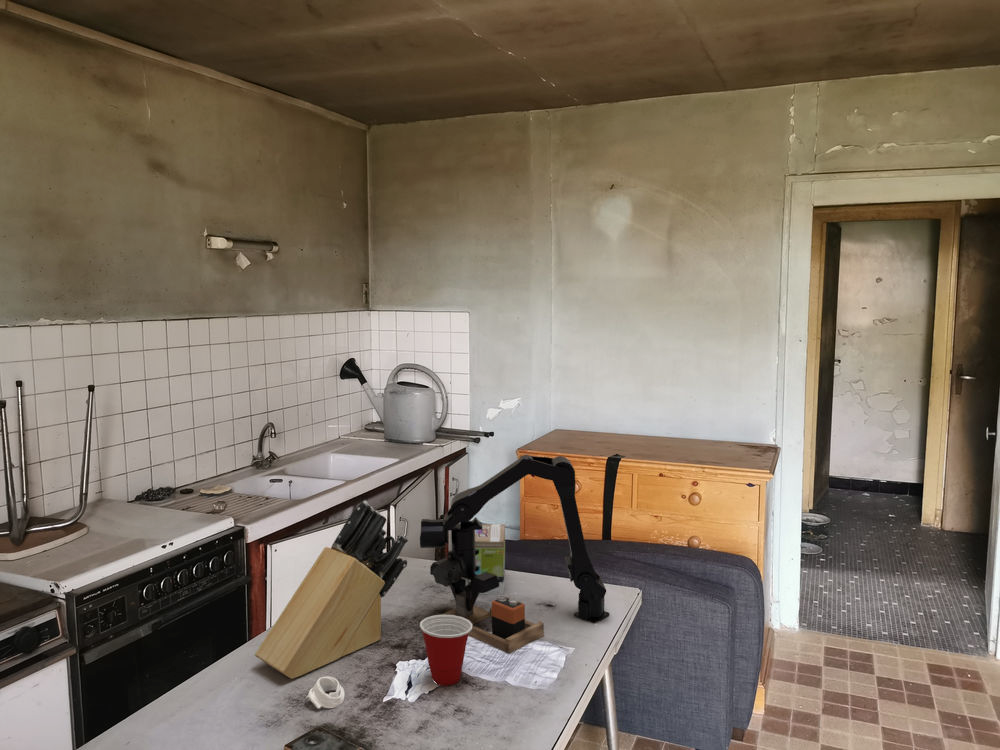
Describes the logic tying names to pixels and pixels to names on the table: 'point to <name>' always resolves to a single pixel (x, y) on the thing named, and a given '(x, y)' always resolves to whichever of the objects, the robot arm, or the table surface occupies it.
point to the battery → (507, 617)
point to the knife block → (337, 598)
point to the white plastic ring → (321, 697)
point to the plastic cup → (445, 646)
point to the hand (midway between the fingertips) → (464, 608)
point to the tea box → (491, 553)
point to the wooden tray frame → (506, 645)
